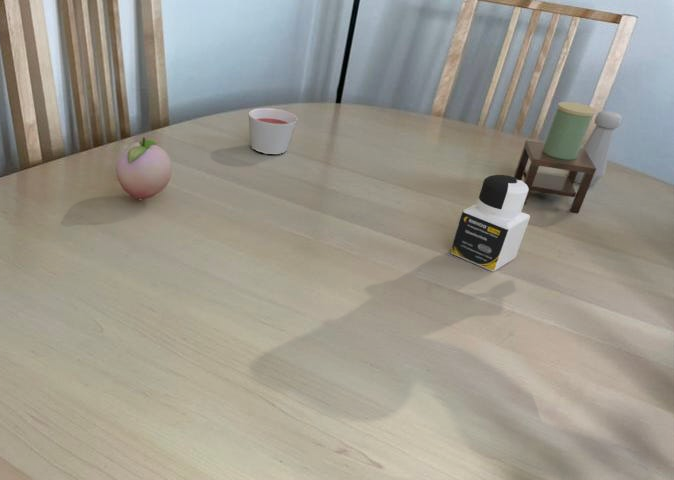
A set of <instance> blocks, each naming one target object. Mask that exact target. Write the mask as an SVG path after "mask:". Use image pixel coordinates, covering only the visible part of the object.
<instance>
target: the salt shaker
mask: <svg viewBox="0 0 674 480" xmlns="http://www.w3.org/2000/svg"><path fill="white" fill-rule="evenodd" d="M622 120H623V117H622V115H621V114H620V113H618V112H615V111H612V110H601V111H598V112H597V114H596V116H595V119H594V124H595V127H594V128H593V130H592V132H591V133H590V135H589V136H588V138H587V140H586V141H585V143H584V145H582V147H581V149H585V151H586V152H587V154H588V156H589V157H590V159H591V161H592V162H593V164H594V166H595V167H596V171H595V173H594V176H593V178H592V181H591V183H590V186H595V184H596V183H598V182H599V181H600V180H601V179H602V178H604V176H605V175H606V171H607V165H608V160H609V157H610V151H611V148H612V142H613V138H614V134H615V130H617V129H619V128H620V126H621V124H622ZM583 175H584V173H583V172H578V173H577V175H576V178H575V181H574V183H577V184H580V183H581V180H582V178H583Z"/></svg>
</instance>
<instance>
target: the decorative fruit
mask: <svg viewBox="0 0 674 480" xmlns="http://www.w3.org/2000/svg"><path fill="white" fill-rule="evenodd" d="M172 166H173V165H172V161H171V158H170V156H169V155H168V153H167V152H166V150H164V149H163V148H161V147H160V146H159V145H157V142H156V141H155V140H151V139H147V138H146V137H142V139H141V140H140V141H138V142H135V143H132V144H130V145H128V146H127V147H126V148H125V149H124V152H123V153H122V154H121V156H120V157H119V158H118V160H117V163H116V164H115V175H116V180H117V181H118V184H119V185H120V187H121V188H122V189H123V191H124V192H125V193H126V194H127V195H129V196H130V197H131V198H134V199H136V198H137V199H136V200H138V199H143V200H146V199H150V198H153V197H154V196H156V195H158V194H159V193H160V192H162V191H164V189H166V187H167V186H168V184H169V182H170V180H171V177H172V173H173V172H172V171H173V169H172V168H173V167H172Z"/></svg>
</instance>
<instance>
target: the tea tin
mask: <svg viewBox="0 0 674 480" xmlns="http://www.w3.org/2000/svg"><path fill="white" fill-rule="evenodd" d="M556 108H557V109H556V111H555V114H554V117H553V121H552V123H551V125H550V127H549V131H548V134H547V137H546V139H545V142H544V143H545V145H544V148H543V152H544V153H545V154H547V155H549V156H552V157H555V158H559V159H565V160H573V159H576V158H577V156H578V154H579V151H580V148H581V149H582V147H583V143H584V141H585V138H586V135H587V134H588V133H587V132H588V130H589V127H590V125H591V123H592V119H593V117H594V116H595V113H596V110H595V108H594V107H591V106H589V105H586V104H583V103H579V102H573V101H561V102H558V104H557V106H556Z"/></svg>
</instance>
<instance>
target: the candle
mask: <svg viewBox="0 0 674 480" xmlns="http://www.w3.org/2000/svg"><path fill="white" fill-rule="evenodd" d="M297 122H298V117H297V115H295V114H293V113H291V112H290V111H287V110H283V109H278V108H269V107H268V108H267V107H265V108H263V107H262V108H260V107H259V108H255V109H252V110H250V111H249V112H248V127H249V143H250V144H251V145H250V144H249V145H250V147H251V146H252V147H253V148H255V149H257V150H260V151H263V152H267V153H283V152H285V151H286V152H287V151H288V148H289V146H290V142H291V139H292V137H293V133H294V131H295V129H296V128H295V127H296V125H297ZM286 152H285V153H286ZM283 154H284V153H283Z"/></svg>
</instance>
